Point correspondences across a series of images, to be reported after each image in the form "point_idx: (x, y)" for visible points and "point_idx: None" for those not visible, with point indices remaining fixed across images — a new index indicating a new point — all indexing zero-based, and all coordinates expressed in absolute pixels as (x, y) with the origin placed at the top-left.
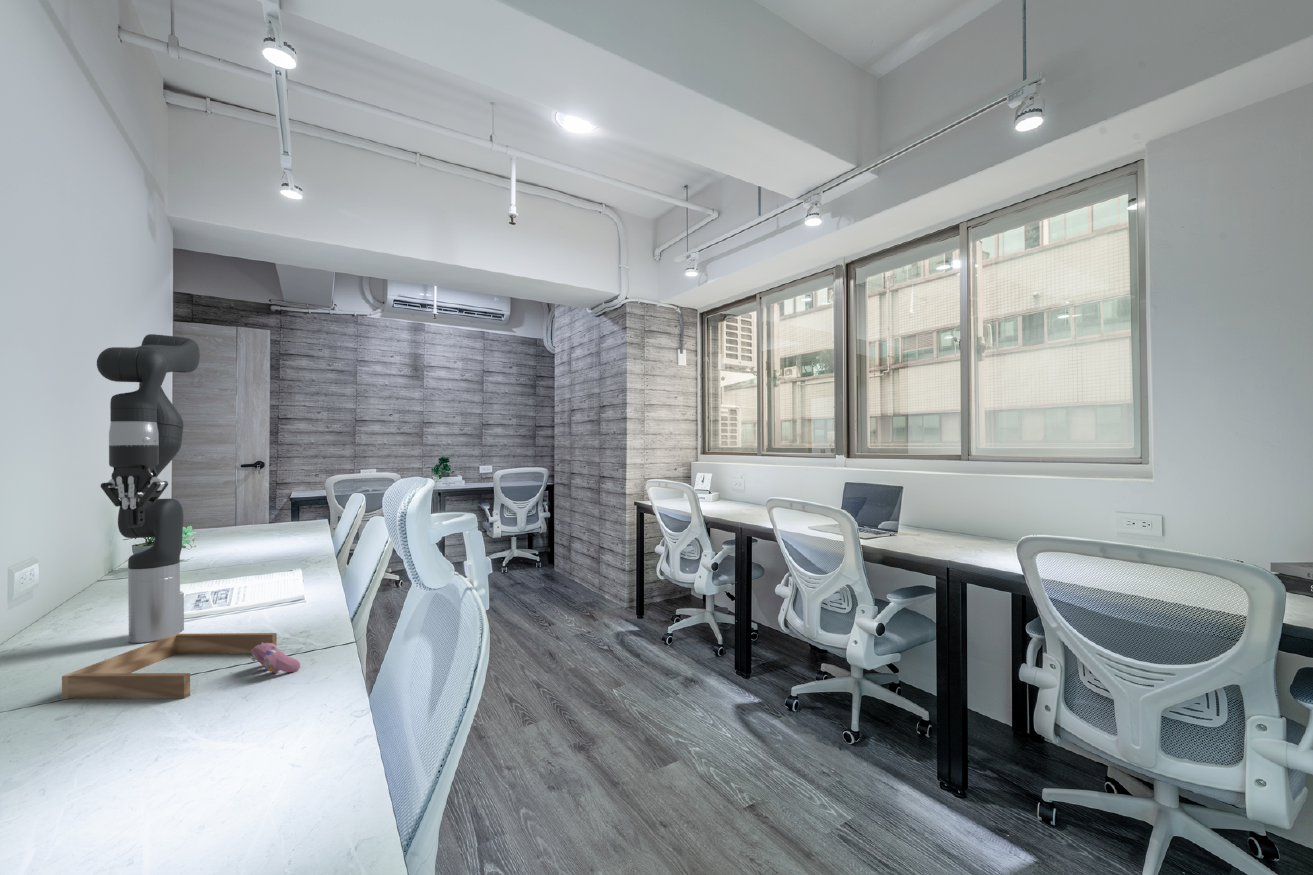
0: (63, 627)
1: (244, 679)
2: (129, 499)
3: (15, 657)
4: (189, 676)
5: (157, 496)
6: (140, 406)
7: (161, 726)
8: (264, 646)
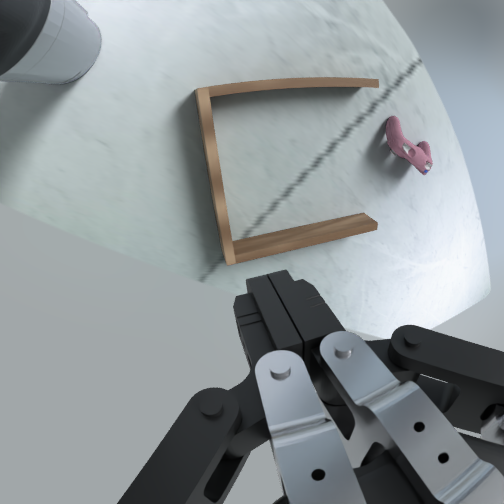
0: None
1: (387, 169)
2: (231, 430)
3: None
4: (375, 221)
5: (470, 356)
6: None
7: (383, 261)
8: (421, 164)
